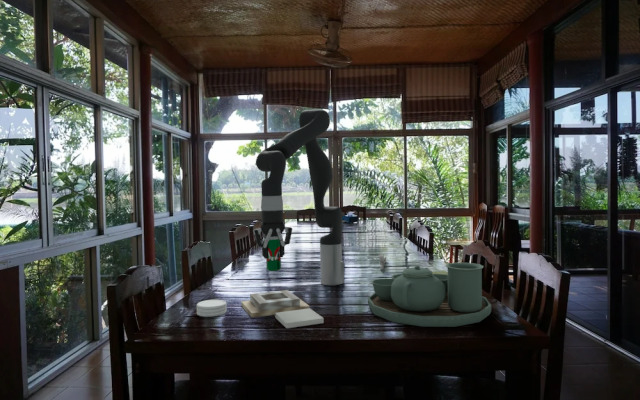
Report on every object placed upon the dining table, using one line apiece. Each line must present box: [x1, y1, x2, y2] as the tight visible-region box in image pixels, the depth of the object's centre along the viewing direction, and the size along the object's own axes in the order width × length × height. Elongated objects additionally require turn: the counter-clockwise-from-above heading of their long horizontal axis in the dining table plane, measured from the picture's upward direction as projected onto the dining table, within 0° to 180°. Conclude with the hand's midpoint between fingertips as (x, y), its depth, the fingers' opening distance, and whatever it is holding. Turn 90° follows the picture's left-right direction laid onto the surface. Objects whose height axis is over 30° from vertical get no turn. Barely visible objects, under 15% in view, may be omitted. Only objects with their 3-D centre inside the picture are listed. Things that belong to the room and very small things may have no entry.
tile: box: [274, 307, 325, 329], centre depth 139 cm, size 12×12×2 cm
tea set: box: [367, 262, 492, 328], centre depth 148 cm, size 40×40×16 cm
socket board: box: [240, 289, 310, 319], centre depth 153 cm, size 20×16×4 cm
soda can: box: [265, 236, 282, 272], centre depth 153 cm, size 5×5×12 cm
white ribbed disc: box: [195, 299, 228, 318], centre depth 149 cm, size 10×10×4 cm
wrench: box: [378, 254, 387, 271], centre depth 226 cm, size 8×2×30 cm
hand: (273, 257), depth 153 cm, fingers closed on soda can, 5 cm apart
